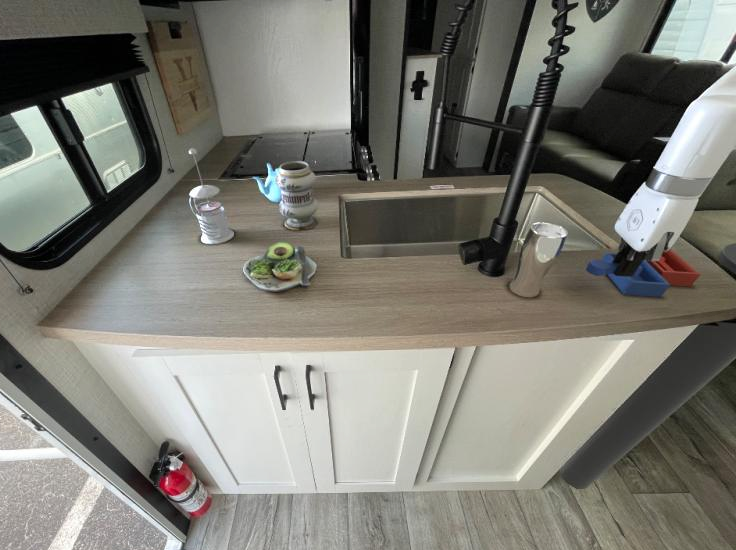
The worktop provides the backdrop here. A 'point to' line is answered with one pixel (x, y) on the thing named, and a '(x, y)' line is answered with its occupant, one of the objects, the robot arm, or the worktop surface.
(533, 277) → the beer glass
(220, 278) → the worktop surface
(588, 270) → the blue spoon
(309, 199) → the apothecary jar
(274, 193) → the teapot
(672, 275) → the red bin
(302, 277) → the salad plate
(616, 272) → the robot arm
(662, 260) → the red spoon
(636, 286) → the blue bin
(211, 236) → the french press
